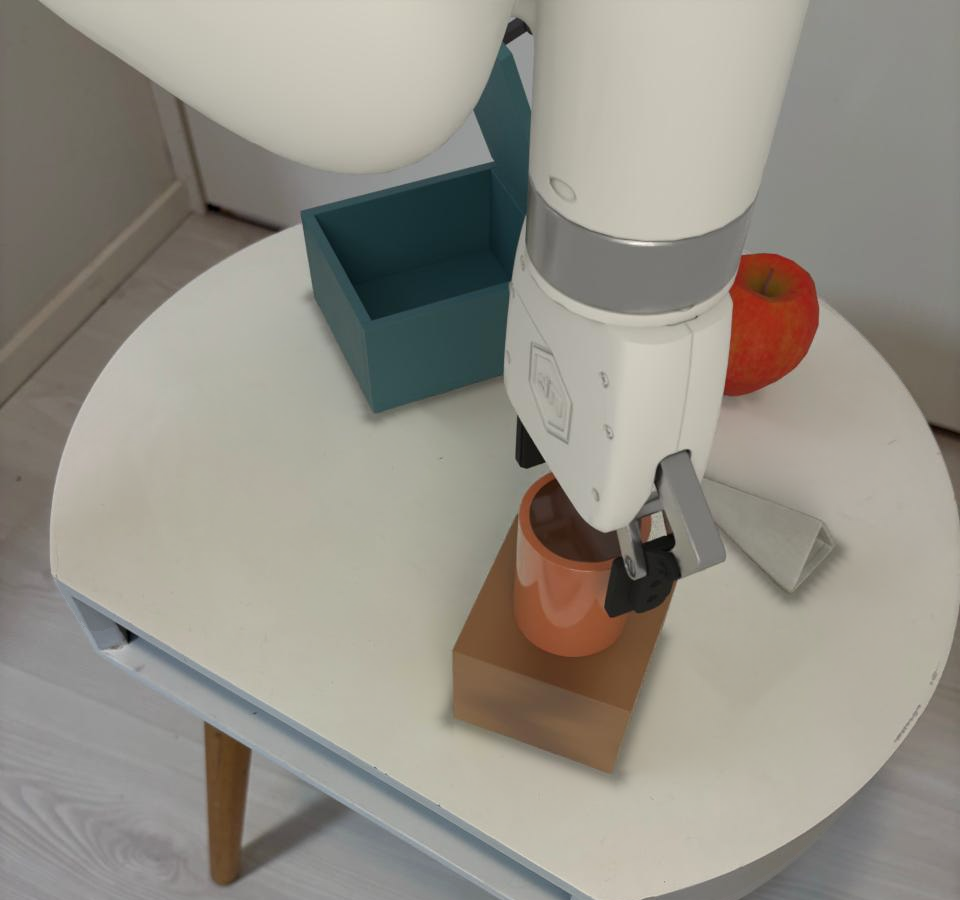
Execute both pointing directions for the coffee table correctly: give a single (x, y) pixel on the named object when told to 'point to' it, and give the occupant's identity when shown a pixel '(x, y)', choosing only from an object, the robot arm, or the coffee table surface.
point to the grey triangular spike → (770, 533)
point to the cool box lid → (507, 114)
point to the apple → (769, 321)
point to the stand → (549, 676)
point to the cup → (564, 574)
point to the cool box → (418, 281)
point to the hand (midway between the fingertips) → (588, 526)
